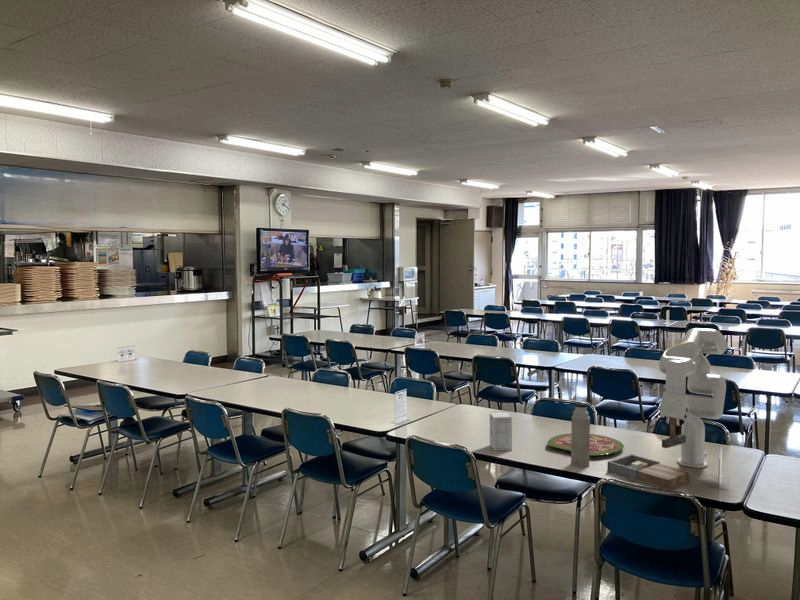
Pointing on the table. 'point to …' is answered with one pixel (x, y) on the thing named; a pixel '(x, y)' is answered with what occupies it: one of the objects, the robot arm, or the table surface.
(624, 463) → the box
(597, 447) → the pizza
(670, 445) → the scraper
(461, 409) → the table surface
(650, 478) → the tan flat block
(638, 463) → the sage tile
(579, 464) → the thermos bottle
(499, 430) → the supplement box
